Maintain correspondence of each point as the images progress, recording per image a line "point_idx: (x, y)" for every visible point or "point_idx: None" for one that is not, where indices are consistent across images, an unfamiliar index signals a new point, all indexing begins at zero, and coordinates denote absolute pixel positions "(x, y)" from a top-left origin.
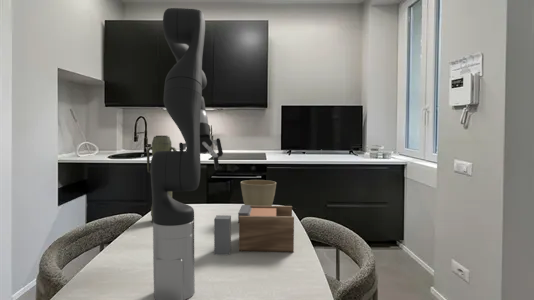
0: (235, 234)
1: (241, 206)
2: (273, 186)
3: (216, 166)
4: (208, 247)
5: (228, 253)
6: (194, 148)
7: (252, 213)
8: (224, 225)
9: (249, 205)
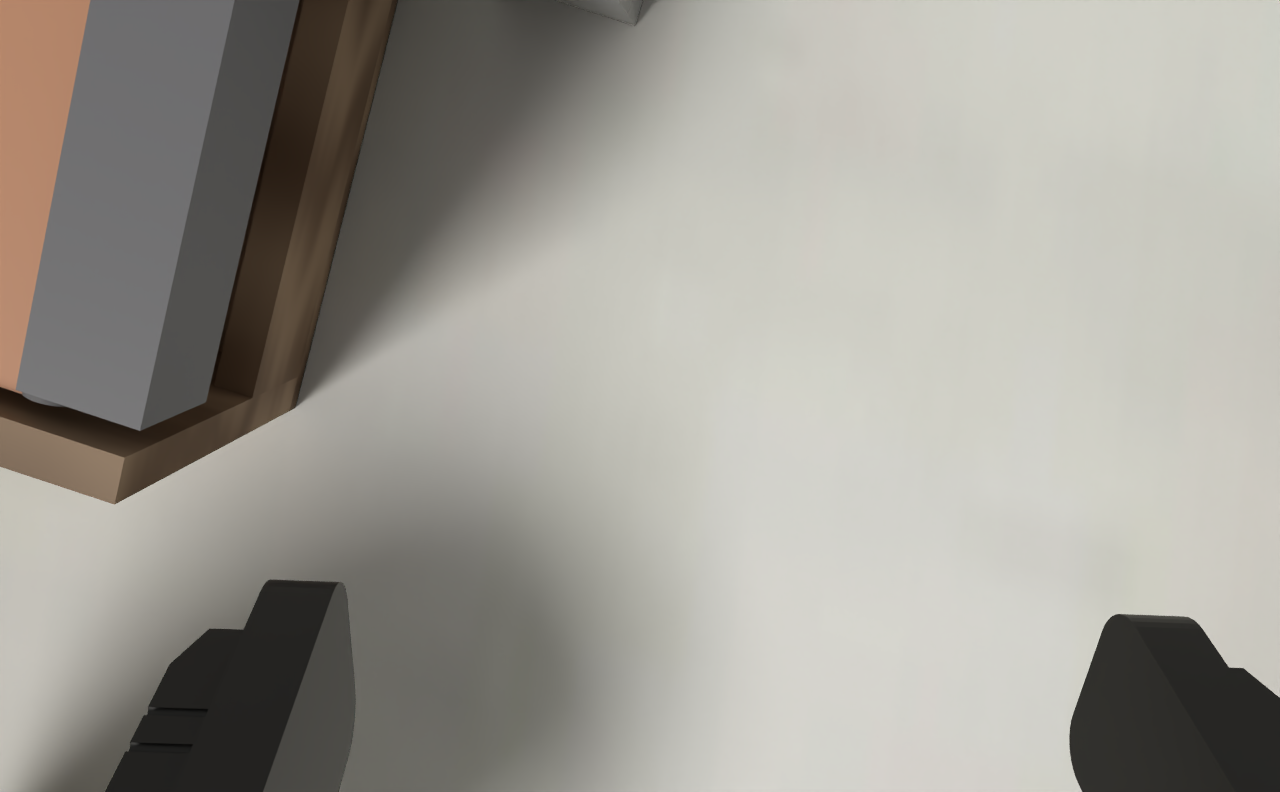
0: (373, 483)
1: (158, 329)
2: None
3: (276, 612)
4: (708, 118)
5: None
6: None
7: (58, 41)
8: None
9: (33, 368)
